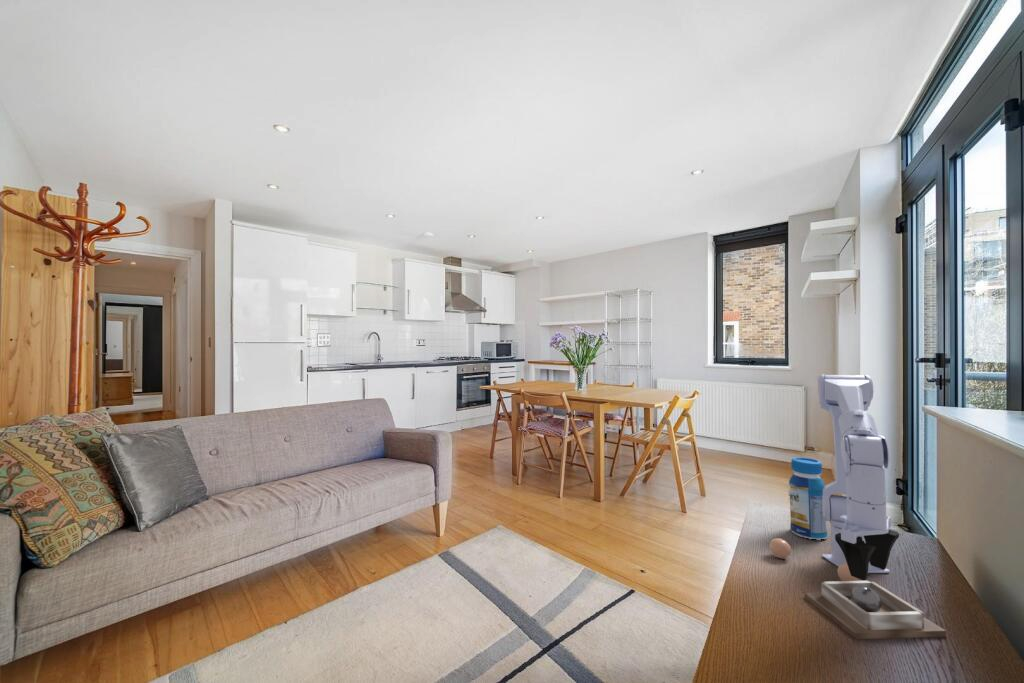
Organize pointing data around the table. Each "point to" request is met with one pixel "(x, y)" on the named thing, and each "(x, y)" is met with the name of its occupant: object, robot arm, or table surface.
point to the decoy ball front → (780, 548)
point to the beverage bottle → (807, 499)
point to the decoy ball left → (846, 573)
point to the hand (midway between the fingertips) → (868, 572)
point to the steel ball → (866, 598)
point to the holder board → (872, 613)
